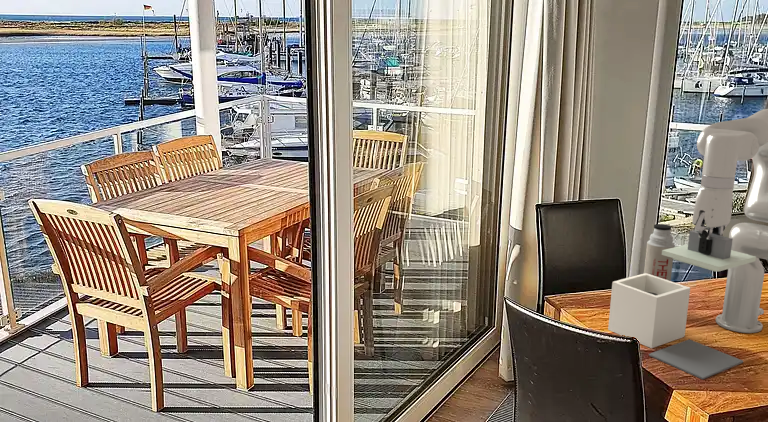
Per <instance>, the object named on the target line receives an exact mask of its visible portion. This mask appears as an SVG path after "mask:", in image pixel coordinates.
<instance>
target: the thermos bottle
mask: <svg viewBox="0 0 768 422" xmlns="http://www.w3.org/2000/svg"><path fill="white" fill-rule="evenodd" d="M653 228H654V229H653V232H652V233H650V235H649V240H647V242H646V249H645V250H646V251H645V260H644V270H643V274H644V273H647V274H650V275H653V276H656V277H659V278H662V279H665V280H668V281H671V282H672V271H673V263H674V259H673V258H671V257H668V256H664V255H662V250H665V249H670V248H674V247H676V244H675V243H674V237H673V236H672V235H671V229H672V226H671V225H670V224H663V223H656V224H654V225H653Z"/></svg>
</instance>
